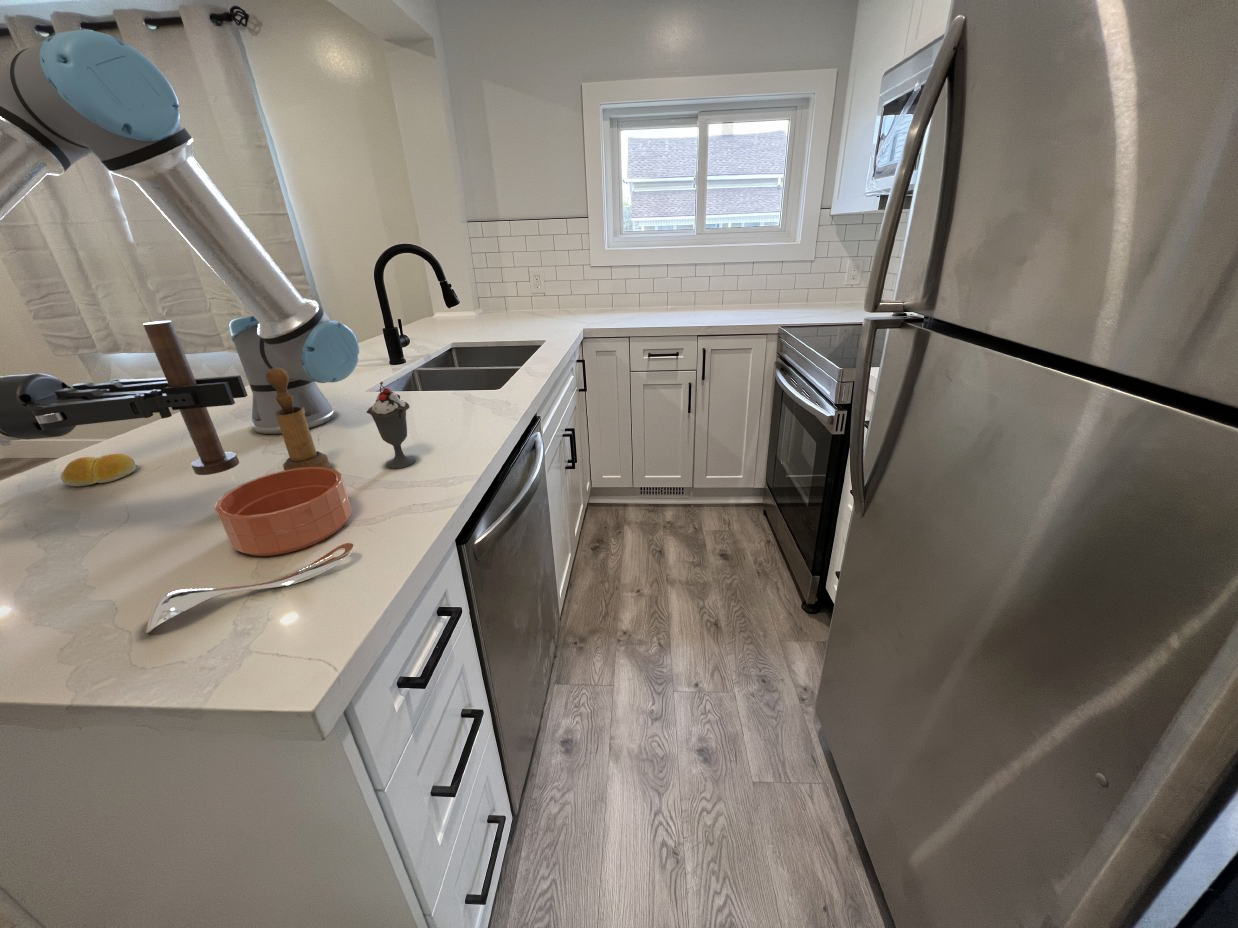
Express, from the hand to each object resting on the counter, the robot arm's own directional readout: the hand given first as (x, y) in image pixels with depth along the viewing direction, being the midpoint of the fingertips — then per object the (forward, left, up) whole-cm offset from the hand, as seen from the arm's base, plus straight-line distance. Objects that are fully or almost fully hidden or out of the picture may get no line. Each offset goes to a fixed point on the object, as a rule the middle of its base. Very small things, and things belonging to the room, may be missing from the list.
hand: (235, 389), depth 62 cm
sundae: (-17, +13, -19) cm, 28 cm away
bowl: (+3, +3, -19) cm, 19 cm away
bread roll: (-25, -38, -19) cm, 50 cm away
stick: (0, -5, -10) cm, 11 cm away
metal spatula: (+17, +4, -19) cm, 26 cm away
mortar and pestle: (-17, -2, -19) cm, 25 cm away
